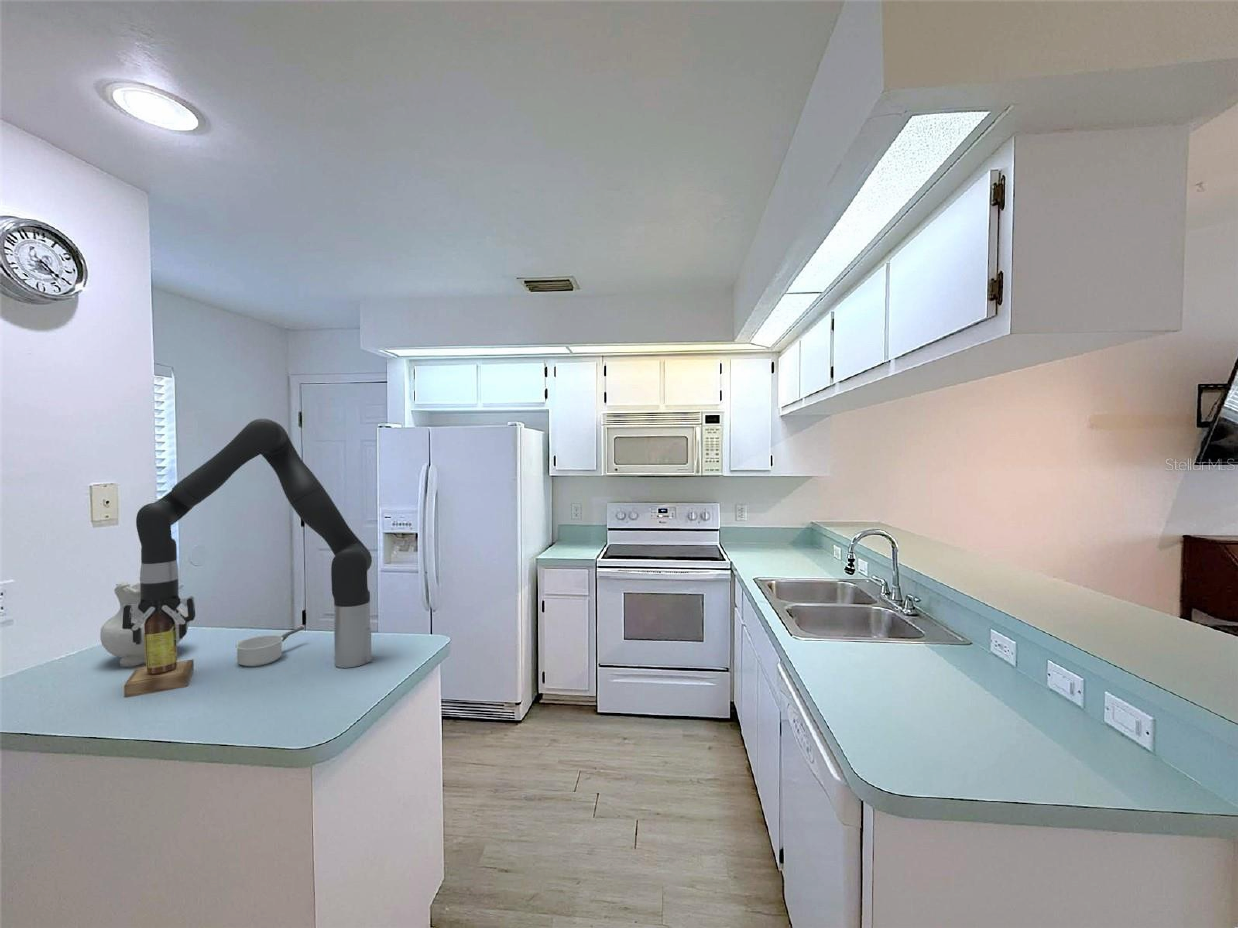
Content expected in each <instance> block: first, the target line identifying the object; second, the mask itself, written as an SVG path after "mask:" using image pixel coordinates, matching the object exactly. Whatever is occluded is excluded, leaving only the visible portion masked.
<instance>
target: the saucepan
mask: <svg viewBox="0 0 1238 928" xmlns="http://www.w3.org/2000/svg"><path fill="white" fill-rule="evenodd" d="M305 628H306V627H305V626H300V627H297V628H295V629H291V630H290V631H287V632H286V633H283V634H282V635H277V634H275V635H274V634H269V635H268V634H267V635H261V636H254V637H250V638H249V637H248V638H247V639H243V640H241V641H239V642H237V643H236V644H235V648H237V649H236V650H237V652H236V655H237V658H236V659H237V664H238V665H241V666H244V667H259V666H260V667H261V666H264V665H267V664H272V663H273V662H275V661H277V660H278V659H279V658H280V657H282V655H283V642H284V641H286V639H287V638H288V637H289V636H291V635H293V634H296V633H299V632H301V631H303V630H304V629H305Z"/></svg>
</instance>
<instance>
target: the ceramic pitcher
mask: <svg viewBox="0 0 1238 928" xmlns="http://www.w3.org/2000/svg"><path fill="white" fill-rule="evenodd" d="M129 583H130V581H123V582H121V583H115V585H116V586H115V587H114V589H113V592H114V594H115V595H116V597H117V600H118V602H119V610H118V611H117V613H116V614H115V615H113V616H112V617H110V618H109V619H108V620H107V621H105V623H104V624H102V626H101V628H100V633H99V635H100V643H101V645H102V646H103V648H104V649H105V650H106V652H108V653H109V654H111V655H113V657H114V656H115V657H121V659H120V660H119V666H120V667H123V668H130V667H131V668H132V667H135V666H138V665H139V666H140V665H142V664H146V657H145V640H144V633H145V629H144V623H145V621H146V620H145V621H144V622H143V624H142V625H141V626H140V628H141V632H142V642H141V644H138V645H136V643H134V642H133V631H132V630H131V629H123V628H122V625H123V609H124V607H125V605H127V604H128V603H131V604H139V603H140V582H137V583H133V584H132V585H131V584H129ZM177 609H178V610H179V611H180V612H181V613H182V615H184V616H185V617H187V616H188V612H186V611H185V610H183V609H182V608H180V607H179V606H178V607H177ZM175 612H176V611H175ZM143 615H144V614H143V613H142V612H141V611H140V610H139V609H138V608H137V609H136V610H135V611H134V612H133V613H132V617H131V623H136V622H137V621H138V620H139V619H140V618H141V617H142V616H143ZM173 615H174V614H173ZM174 621H175V628H176V644H178V643H179V642H180V641H182V640H183V639H184V637H183V638H180V639H179V624H180V623H179V622H178V621H177V620H175V619H174ZM190 622H191V621H189V622H187V631H188V629H189V626H190Z"/></svg>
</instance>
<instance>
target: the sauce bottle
mask: <svg viewBox="0 0 1238 928" xmlns="http://www.w3.org/2000/svg"><path fill="white" fill-rule="evenodd" d="M163 600H164V599H159V600H151V603H152V605H153V606H154V607H155V610H154V611H153V612H152V615H151V616H150V617H149V618H147V619H146V621H145V623H144V629H145V633H144V640H145V657H146V663H145V667H146V668H147V672H148V673H149V674H160V673H164V672H167V671H171V670H173V669H174V668H176V666H177V662H178V651H177V644H178V643H177V644H176V628H175V621H174V619H173V618H172V617H171V616H166V614H165V613H164V610H163V609H162V605H163Z"/></svg>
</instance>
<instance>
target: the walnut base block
mask: <svg viewBox="0 0 1238 928" xmlns="http://www.w3.org/2000/svg"><path fill="white" fill-rule="evenodd" d="M176 662H177V666H176V668H174V669H173V670H171V671H167V672H164V673H160V674H149V673H148V672H147V668H146V666H142V667H136V668H135V669H134V670H133V672H132V673H131V675H130V676H129V677H128V679H127V681H126V682H125V684H123V685H124V686H123V688H124V691H123V693H124V696H123V697H124V698H128V697H134V696H141V695H147V694H151V693H157V692H162V691H163V692H164V691H168V690H174V689H179V688H186V687H188V684H189V682H190V680H191V676H192V675H193V672H194V658H193V659H186V660H181V661H180V660H179V661H176Z"/></svg>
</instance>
